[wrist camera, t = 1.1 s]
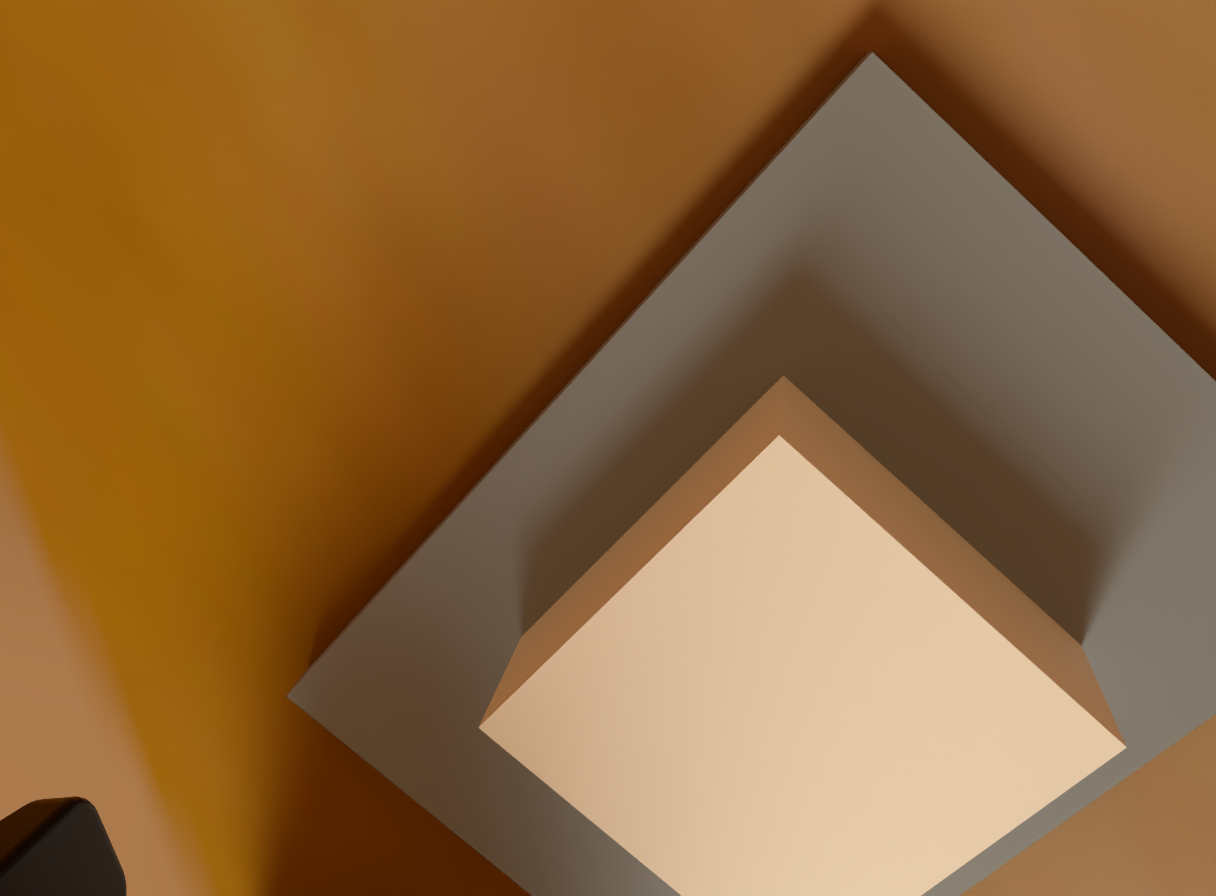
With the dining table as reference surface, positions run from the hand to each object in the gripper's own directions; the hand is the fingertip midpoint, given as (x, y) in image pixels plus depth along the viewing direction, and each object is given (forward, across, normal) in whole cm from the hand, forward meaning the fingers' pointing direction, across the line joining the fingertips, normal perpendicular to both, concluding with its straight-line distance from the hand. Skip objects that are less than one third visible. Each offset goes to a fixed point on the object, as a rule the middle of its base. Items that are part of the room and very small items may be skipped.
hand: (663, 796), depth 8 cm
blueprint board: (+12, -1, +6) cm, 13 cm away
